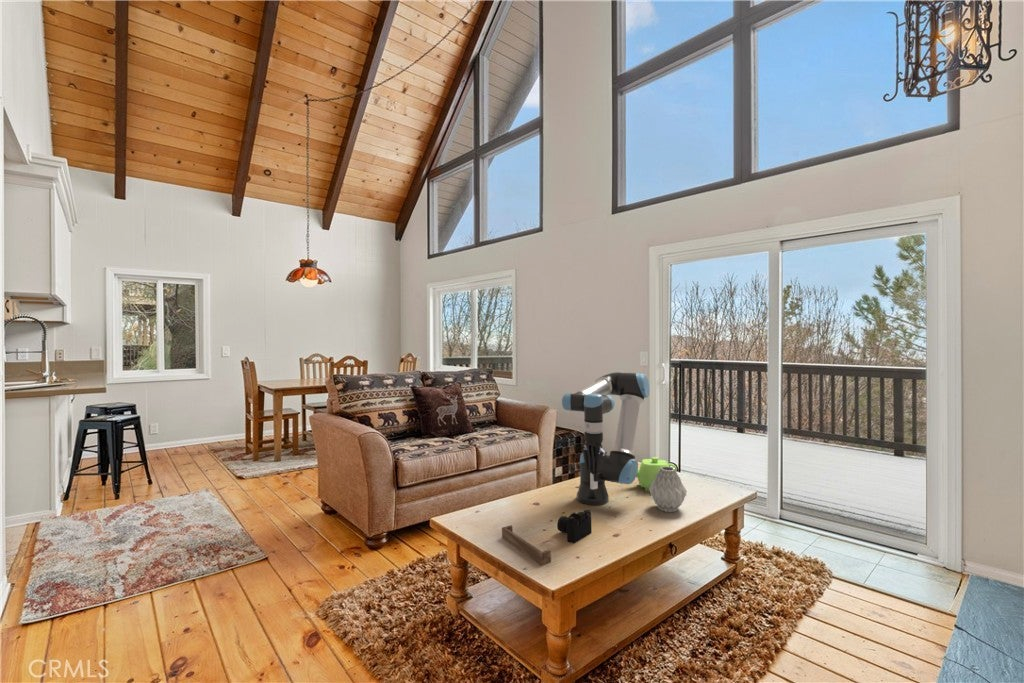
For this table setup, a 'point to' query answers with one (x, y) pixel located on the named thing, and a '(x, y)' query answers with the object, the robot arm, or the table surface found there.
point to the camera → (575, 525)
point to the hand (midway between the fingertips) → (593, 488)
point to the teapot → (650, 471)
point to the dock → (526, 546)
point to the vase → (667, 490)
